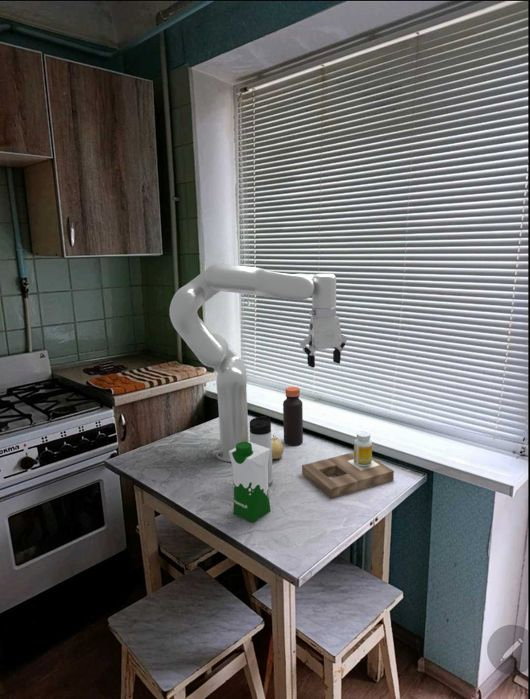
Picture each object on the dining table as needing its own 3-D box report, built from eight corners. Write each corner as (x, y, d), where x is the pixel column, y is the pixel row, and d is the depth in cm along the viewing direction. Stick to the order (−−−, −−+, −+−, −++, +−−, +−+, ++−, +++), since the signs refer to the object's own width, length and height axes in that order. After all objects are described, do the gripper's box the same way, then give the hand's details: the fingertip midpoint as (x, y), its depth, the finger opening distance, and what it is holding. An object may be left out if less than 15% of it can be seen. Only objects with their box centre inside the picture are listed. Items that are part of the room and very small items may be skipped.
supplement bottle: (350, 462, 143) (350, 433, 141) (361, 457, 147) (362, 428, 144) (363, 468, 139) (364, 438, 137) (375, 463, 142) (376, 434, 140)
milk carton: (228, 514, 124) (224, 443, 119) (251, 499, 130) (249, 432, 126) (252, 526, 118) (249, 453, 114) (275, 510, 124) (274, 441, 120)
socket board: (330, 498, 130) (330, 488, 129) (302, 474, 144) (301, 464, 143) (393, 480, 139) (393, 470, 138) (360, 458, 153) (360, 449, 152)
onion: (281, 463, 151) (281, 443, 150) (257, 462, 153) (256, 442, 151) (285, 453, 159) (284, 433, 157) (262, 451, 160) (261, 432, 159)
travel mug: (275, 479, 141) (274, 416, 137) (268, 489, 135) (266, 424, 131) (256, 476, 143) (254, 414, 139) (248, 486, 137) (246, 422, 133)
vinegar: (280, 443, 166) (279, 389, 162) (290, 437, 172) (289, 384, 167) (296, 447, 162) (295, 393, 158) (306, 441, 168) (305, 387, 163)
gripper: (306, 316, 142) (307, 371, 146) (353, 311, 149) (352, 363, 153) (294, 313, 149) (295, 365, 153) (340, 309, 156) (339, 359, 160)
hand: (324, 364), depth 153 cm, fingers open, 9 cm apart
